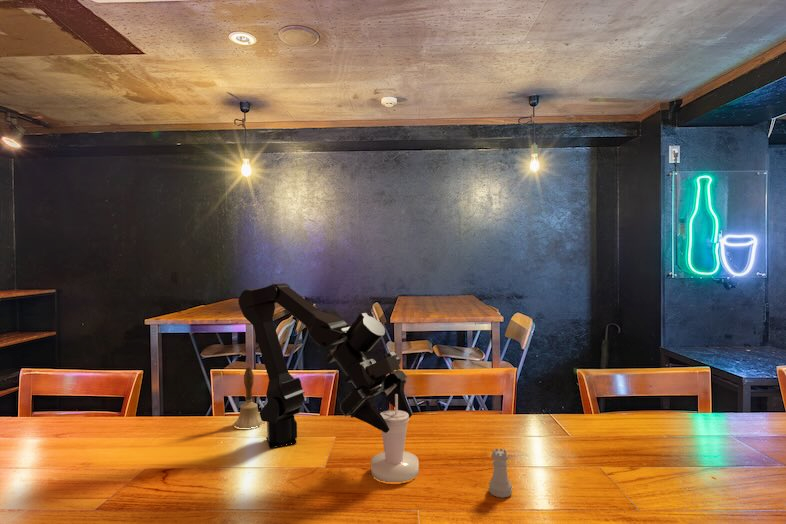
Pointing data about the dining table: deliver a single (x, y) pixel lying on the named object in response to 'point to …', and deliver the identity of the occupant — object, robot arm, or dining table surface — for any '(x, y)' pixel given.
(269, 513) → the dining table surface
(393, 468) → the stand
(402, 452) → the smoothie
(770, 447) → the dining table surface
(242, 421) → the hand bell
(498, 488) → the rook chess piece
